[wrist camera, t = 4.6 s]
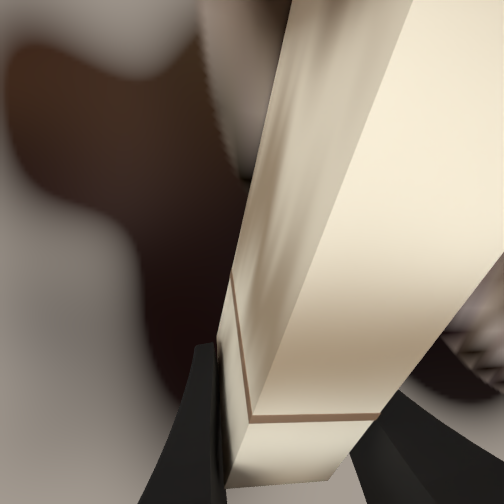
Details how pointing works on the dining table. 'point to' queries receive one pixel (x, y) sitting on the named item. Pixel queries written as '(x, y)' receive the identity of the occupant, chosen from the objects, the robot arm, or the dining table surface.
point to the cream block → (358, 224)
